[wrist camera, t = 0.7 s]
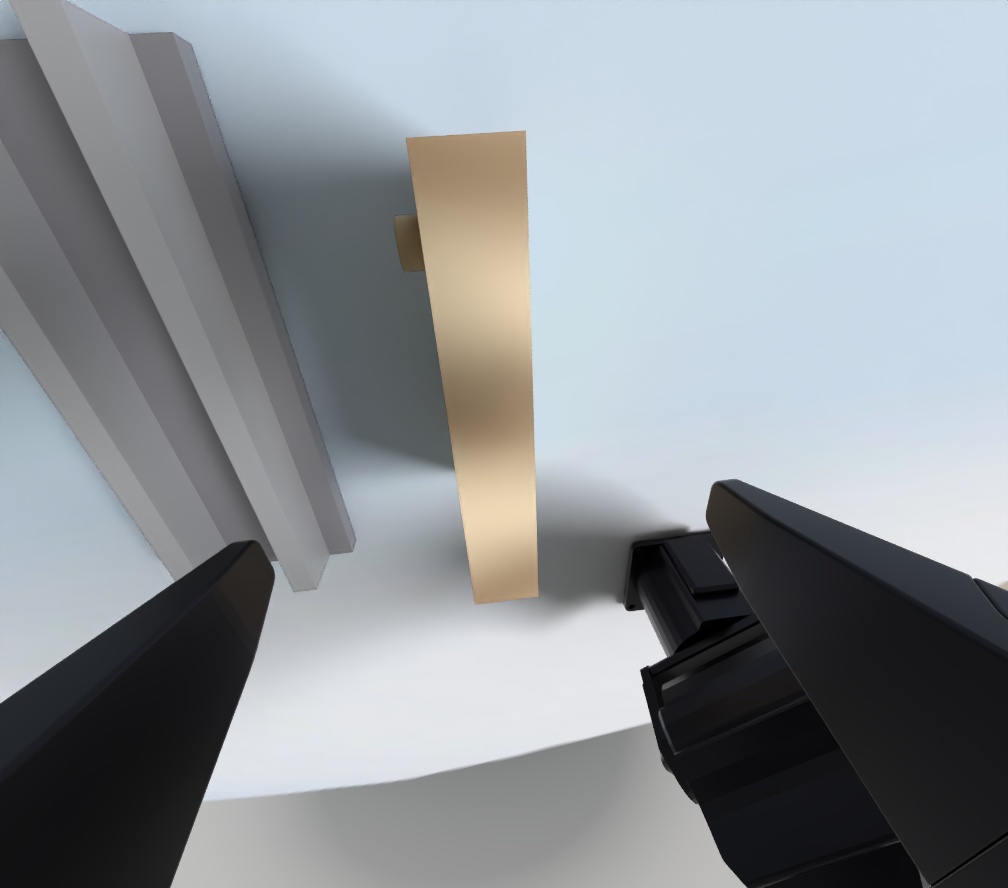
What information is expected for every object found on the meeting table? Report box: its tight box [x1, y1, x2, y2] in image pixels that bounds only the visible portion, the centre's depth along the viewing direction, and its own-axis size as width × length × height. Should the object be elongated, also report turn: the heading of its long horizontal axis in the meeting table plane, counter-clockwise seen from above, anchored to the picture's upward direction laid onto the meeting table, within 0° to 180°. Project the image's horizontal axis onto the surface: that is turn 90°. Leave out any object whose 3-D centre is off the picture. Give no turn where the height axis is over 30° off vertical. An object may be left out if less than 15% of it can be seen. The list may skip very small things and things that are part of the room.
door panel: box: [394, 131, 539, 604], centre depth 15 cm, size 14×3×9 cm, turn 4°
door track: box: [0, 0, 356, 592], centre depth 17 cm, size 22×9×4 cm, turn 4°
